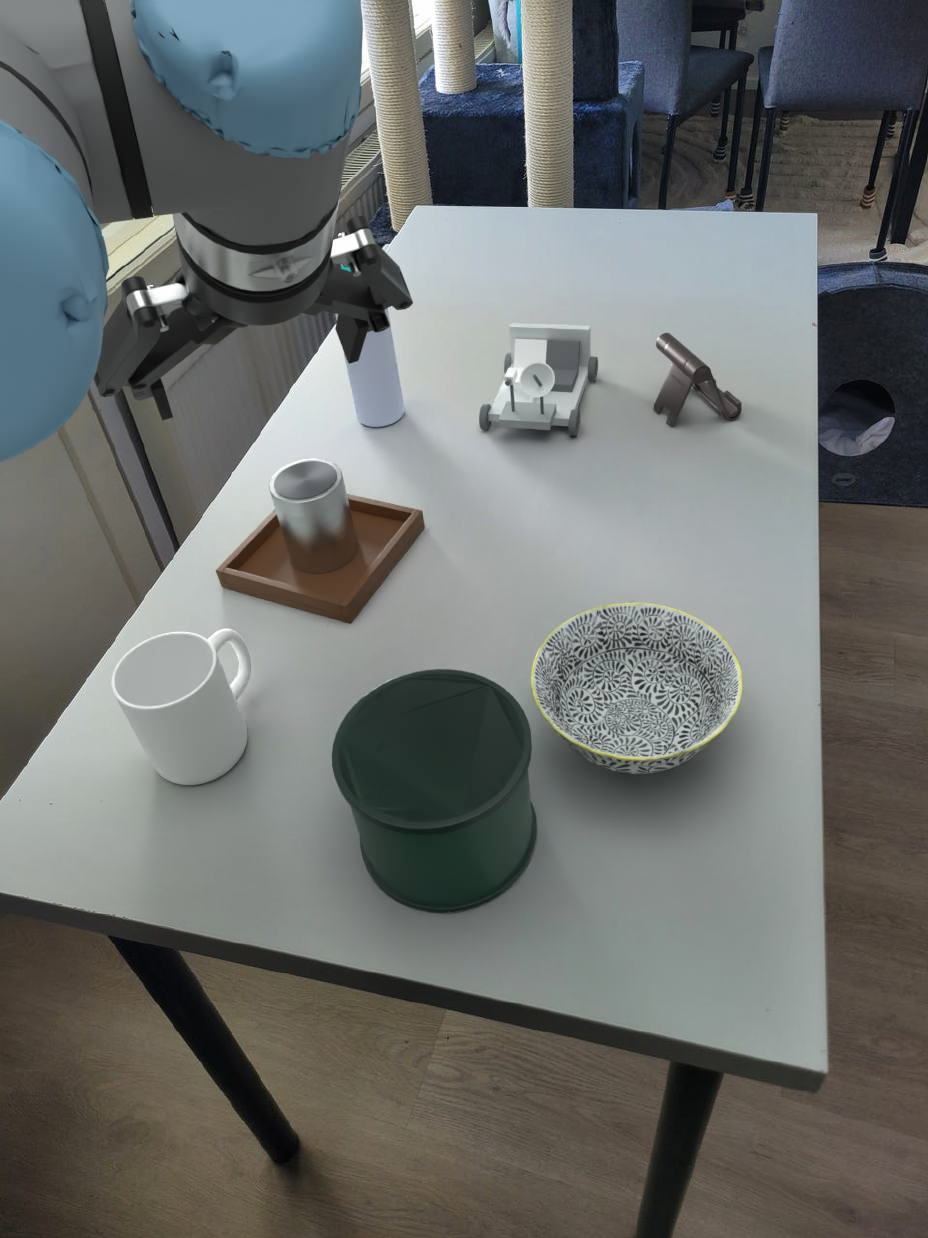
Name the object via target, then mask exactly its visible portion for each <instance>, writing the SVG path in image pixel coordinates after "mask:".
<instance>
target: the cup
mask: <svg viewBox="0 0 928 1238" xmlns="http://www.w3.org/2000/svg"><path fill="white" fill-rule="evenodd" d="M226 643H229V644H230V645H231V647H232V648H233V650H234V651H235V654H236V657H237V661H238V662H237V663H238V669H237V674H236V676H235V678H234V679H233V681H232V682H231V684H230V682H229V680H228V677H227V675H226V673H225V670H224V668H223V665H222V663H221V660H220V657H219V656H218V655H219V654H218V652H219V651H220V650H221V648H222V647H224V645H225V644H226ZM251 673H252V659H251V654H250V651H249V648H248V646H247V644H246V642H245V640H244V639H243V638H242V636H241V635H240V633H238V632H236V631H235V630H234V629H231V628H222V629H220V630H217V631H215V632H214V633H213V634H212V635H210V636H209V637H208V638H206V637H205V636H202V635H200V634H198V633H195V632H190V631H189V632H188V631H171V632H166V633H162V634H158V635H154V636H151V637H149V638H148V639H145V640H143V641H141V642H140V643H138V644H136V645H135V646H134V647H132V648H131V649H130V650H128V651H127V652H126V653H125V654H124V655H123V656H122V657H121V659H120V660H119V661H118V662H117V664H116V666H115V667H114V670H113V672H112V675H111V680H110V686H111V687H110V688H111V691H112V694H113V695H114V698H115V699H116V701H117V703H118V705H119V706H120V708H121V710H122V713H123V714H124V716H125V718H126V720H127V721H128V723H129V725H130V727H131V728H132V731H133V732H134V734H135V736H136V738H137V739H138V741H139V743H140V745H141V747H142V749H143V751H144V753H145V754H146V756H147V758H148V760H149V762H150V763H151V765H152V766H153V768H154V770H155V771H156V772H157V773H158V774H159V775H160V776H161V777H162V778H163V779H165V780H167V781H169V782H171V783H174V784H177V785H182V786H197V785H202V784H206V783H209V782H212V781H214V780H216V779H218V778H220V777H222V776H223V775H225V774H226V773H228V772H229V771H230V770H232V768H233V767H235V765H237V763H238V762H239V760H240V759H241V757H242V756H243V755H244V753H245V750H246V747H247V742H248V729H247V725H246V722H245V719H244V716H243V713H242V711H241V709H240V707H239V705H238V702H237V700H238V699H239V698H240V696H241V695H242V693H243V692H244V690H245V689H246V687H247V684H248V683H249V680H250V678H251Z"/></svg>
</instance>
